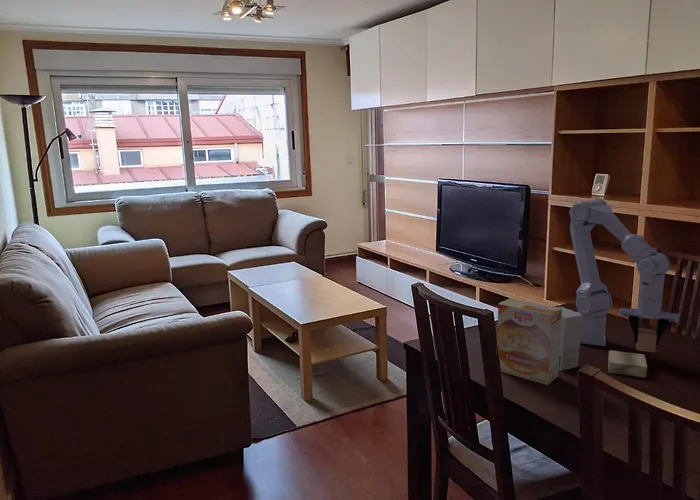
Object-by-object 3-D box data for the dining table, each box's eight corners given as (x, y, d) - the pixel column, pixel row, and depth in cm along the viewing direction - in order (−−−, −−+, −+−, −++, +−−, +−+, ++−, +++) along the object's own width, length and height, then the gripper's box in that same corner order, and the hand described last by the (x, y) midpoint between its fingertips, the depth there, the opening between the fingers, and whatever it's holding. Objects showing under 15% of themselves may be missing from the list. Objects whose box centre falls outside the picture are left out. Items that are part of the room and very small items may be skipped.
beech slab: (608, 372, 148) (609, 362, 147) (608, 360, 156) (608, 350, 155) (646, 377, 144) (647, 367, 144) (643, 364, 152) (644, 354, 152)
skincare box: (540, 360, 157) (542, 309, 154) (558, 356, 159) (560, 305, 156) (562, 371, 149) (565, 317, 146) (580, 367, 152) (583, 313, 149)
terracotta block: (637, 350, 154) (638, 333, 152) (635, 344, 158) (637, 328, 157) (655, 352, 152) (656, 335, 151) (653, 346, 156) (655, 330, 155)
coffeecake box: (495, 370, 151) (497, 303, 147) (507, 362, 156) (509, 297, 152) (547, 386, 141) (551, 314, 137) (558, 376, 146) (562, 307, 142)
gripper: (622, 298, 151) (617, 344, 154) (682, 303, 145) (677, 351, 148) (621, 291, 157) (617, 335, 160) (679, 296, 151) (673, 342, 154)
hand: (645, 343), depth 154 cm, fingers closed on terracotta block, 4 cm apart
